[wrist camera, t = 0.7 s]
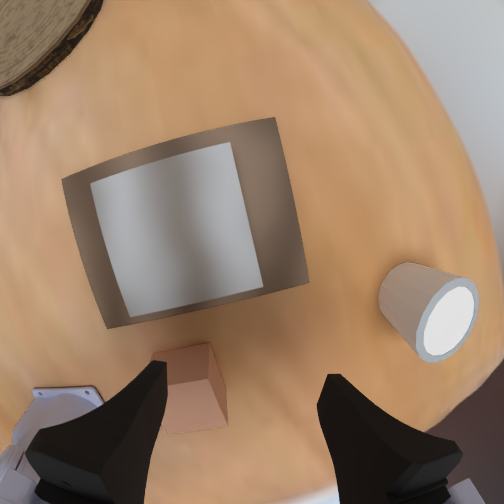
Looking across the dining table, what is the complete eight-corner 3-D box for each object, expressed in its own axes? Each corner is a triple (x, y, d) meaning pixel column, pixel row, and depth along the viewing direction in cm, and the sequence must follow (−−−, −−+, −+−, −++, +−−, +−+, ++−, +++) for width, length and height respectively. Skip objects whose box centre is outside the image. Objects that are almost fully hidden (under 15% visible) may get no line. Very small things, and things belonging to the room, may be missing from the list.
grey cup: (368, 332, 24) (408, 374, 17) (374, 258, 22) (424, 284, 16) (425, 319, 25) (469, 350, 18) (434, 252, 23) (486, 272, 16)
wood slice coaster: (15, -10, 12) (4, -19, 9) (128, -43, 14) (122, -59, 11) (-32, 108, 15) (-49, 104, 12) (75, 86, 17) (59, 75, 14)
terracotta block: (173, 396, 24) (167, 434, 19) (153, 353, 22) (140, 389, 18) (225, 387, 24) (228, 426, 19) (209, 342, 23) (208, 378, 18)
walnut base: (112, 322, 21) (96, 343, 18) (68, 179, 19) (44, 179, 15) (305, 277, 22) (319, 294, 19) (271, 120, 19) (282, 107, 16)
